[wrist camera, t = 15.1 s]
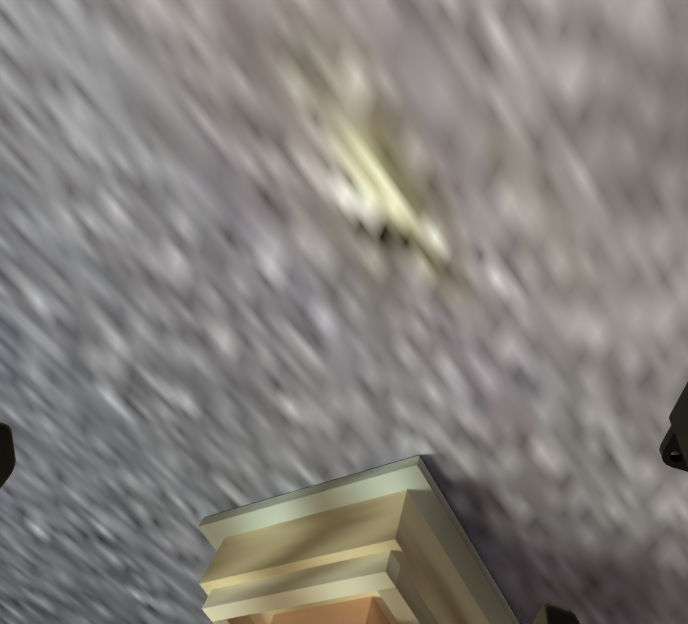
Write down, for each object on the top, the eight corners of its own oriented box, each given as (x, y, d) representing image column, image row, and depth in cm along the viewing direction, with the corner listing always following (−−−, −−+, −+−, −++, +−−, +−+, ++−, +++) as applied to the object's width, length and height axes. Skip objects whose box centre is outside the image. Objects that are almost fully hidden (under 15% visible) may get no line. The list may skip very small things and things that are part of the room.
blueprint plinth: (419, 455, 24) (401, 534, 21) (537, 652, 28) (540, 751, 24) (203, 517, 29) (158, 590, 26) (325, 678, 33) (300, 763, 29)
